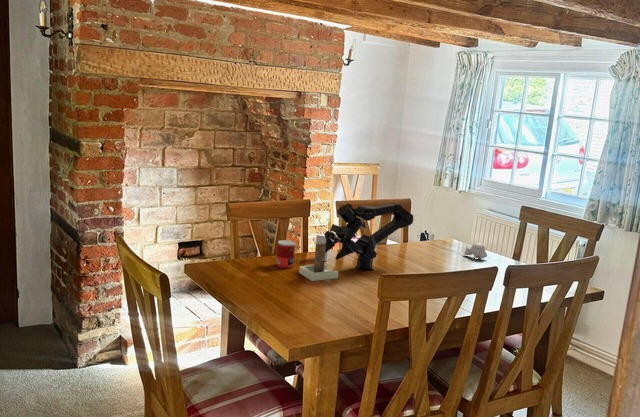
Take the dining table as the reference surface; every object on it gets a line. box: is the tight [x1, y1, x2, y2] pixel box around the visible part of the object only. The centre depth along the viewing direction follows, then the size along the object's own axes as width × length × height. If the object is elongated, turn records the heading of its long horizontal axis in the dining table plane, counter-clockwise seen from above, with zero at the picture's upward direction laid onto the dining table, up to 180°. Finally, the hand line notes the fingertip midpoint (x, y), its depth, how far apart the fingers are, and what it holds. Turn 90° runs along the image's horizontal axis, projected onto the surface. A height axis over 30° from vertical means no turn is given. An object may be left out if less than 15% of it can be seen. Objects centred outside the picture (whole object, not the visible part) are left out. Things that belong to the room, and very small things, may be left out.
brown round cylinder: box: [313, 243, 326, 273], centre depth 249 cm, size 4×4×13 cm
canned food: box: [275, 239, 296, 269], centre depth 259 cm, size 8×8×11 cm
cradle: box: [298, 263, 340, 282], centre depth 250 cm, size 13×11×3 cm
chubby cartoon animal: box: [462, 242, 488, 260], centre depth 300 cm, size 7×12×8 cm, turn 50°
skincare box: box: [315, 233, 331, 262], centre depth 273 cm, size 6×4×12 cm
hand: (329, 256), depth 252 cm, fingers open, 9 cm apart
